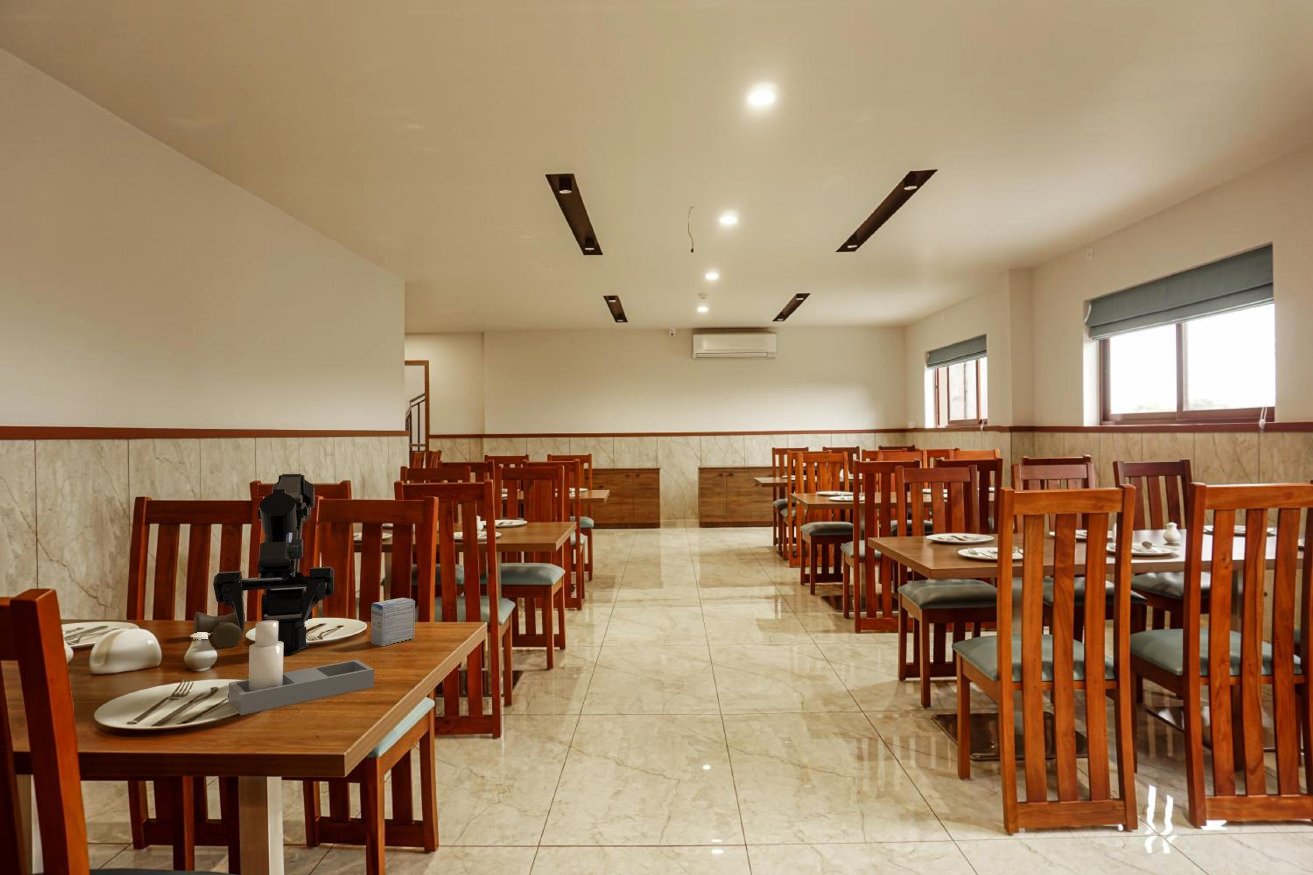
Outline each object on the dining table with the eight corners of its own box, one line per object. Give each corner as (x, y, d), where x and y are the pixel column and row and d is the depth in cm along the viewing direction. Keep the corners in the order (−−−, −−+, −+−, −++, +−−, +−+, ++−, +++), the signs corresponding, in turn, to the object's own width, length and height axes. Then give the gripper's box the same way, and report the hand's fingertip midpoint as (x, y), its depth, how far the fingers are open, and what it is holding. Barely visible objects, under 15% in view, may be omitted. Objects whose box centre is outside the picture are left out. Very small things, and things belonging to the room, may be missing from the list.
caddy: (228, 705, 115) (228, 682, 115) (356, 679, 129) (357, 659, 129) (240, 718, 109) (240, 694, 109) (373, 690, 123) (374, 669, 123)
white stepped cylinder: (241, 703, 114) (243, 624, 114) (269, 694, 118) (270, 618, 119) (261, 708, 112) (263, 627, 112) (289, 699, 116) (290, 621, 117)
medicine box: (402, 636, 160) (403, 597, 160) (414, 639, 157) (415, 599, 158) (370, 643, 154) (370, 602, 154) (382, 647, 151) (383, 605, 151)
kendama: (200, 654, 147) (190, 633, 163) (253, 648, 153) (239, 628, 169) (201, 625, 147) (191, 606, 163) (255, 620, 153) (240, 602, 169)
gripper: (216, 525, 125) (202, 602, 114) (334, 522, 132) (331, 594, 122) (223, 564, 132) (210, 640, 122) (335, 559, 139) (332, 630, 129)
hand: (272, 625), depth 123 cm, fingers open, 9 cm apart
